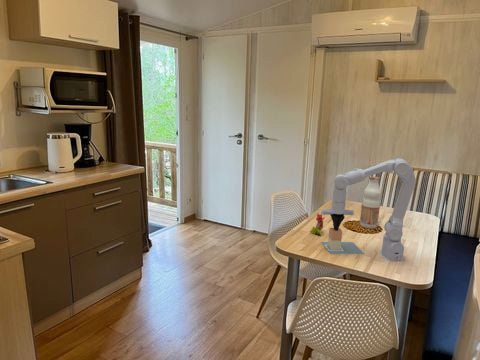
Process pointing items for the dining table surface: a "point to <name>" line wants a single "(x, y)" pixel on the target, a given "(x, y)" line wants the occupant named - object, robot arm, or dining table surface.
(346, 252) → the board
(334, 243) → the base block
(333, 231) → the top block
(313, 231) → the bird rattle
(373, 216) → the fruit juice
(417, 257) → the dining table surface
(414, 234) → the dining table surface
